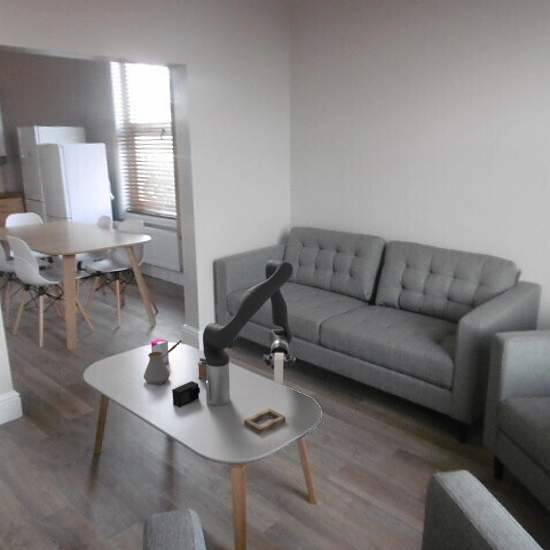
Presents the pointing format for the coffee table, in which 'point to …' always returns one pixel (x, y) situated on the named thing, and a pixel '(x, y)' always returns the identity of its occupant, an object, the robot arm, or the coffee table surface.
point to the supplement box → (161, 348)
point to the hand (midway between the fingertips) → (278, 367)
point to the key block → (278, 368)
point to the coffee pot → (157, 367)
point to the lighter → (202, 369)
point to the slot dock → (261, 429)
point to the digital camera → (185, 394)
